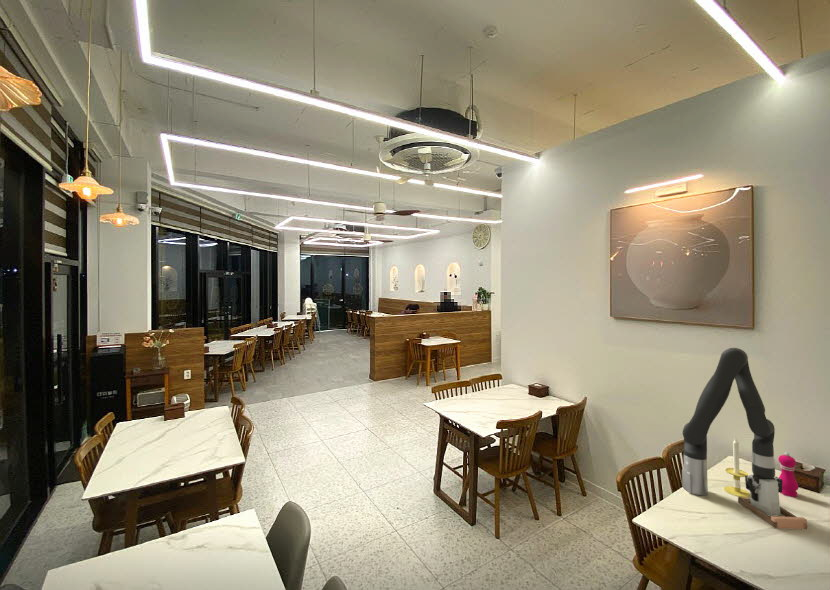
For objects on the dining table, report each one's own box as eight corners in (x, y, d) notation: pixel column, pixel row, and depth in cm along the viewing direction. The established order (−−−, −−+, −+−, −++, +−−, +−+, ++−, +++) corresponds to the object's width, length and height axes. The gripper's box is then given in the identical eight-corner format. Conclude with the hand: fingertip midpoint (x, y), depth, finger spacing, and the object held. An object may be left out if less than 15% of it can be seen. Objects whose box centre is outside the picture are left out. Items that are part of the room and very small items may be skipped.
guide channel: (774, 528, 151) (774, 522, 151) (738, 502, 170) (738, 497, 170) (807, 529, 150) (806, 523, 150) (766, 503, 169) (766, 497, 169)
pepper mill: (803, 498, 172) (801, 456, 172) (785, 496, 174) (784, 455, 174) (790, 490, 179) (789, 449, 179) (773, 489, 181) (772, 448, 181)
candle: (748, 490, 180) (746, 435, 180) (753, 499, 172) (751, 442, 172) (722, 484, 185) (720, 432, 186) (725, 494, 177) (724, 438, 177)
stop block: (774, 528, 151) (774, 518, 151) (771, 525, 152) (770, 516, 152) (807, 529, 150) (806, 519, 150) (803, 527, 151) (803, 517, 151)
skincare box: (780, 515, 159) (779, 481, 159) (770, 517, 158) (769, 483, 158) (758, 504, 167) (758, 472, 168) (748, 506, 166) (748, 474, 166)
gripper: (752, 467, 160) (753, 505, 160) (788, 468, 158) (789, 506, 158) (739, 459, 167) (740, 495, 167) (773, 460, 166) (774, 496, 166)
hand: (764, 500), depth 163 cm, fingers closed on skincare box, 7 cm apart
